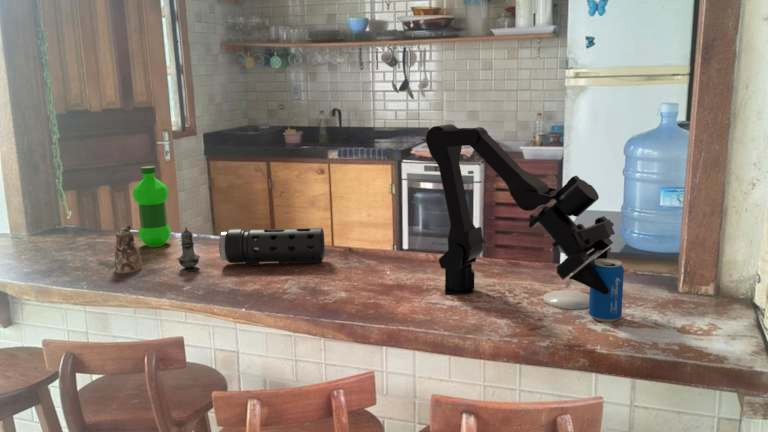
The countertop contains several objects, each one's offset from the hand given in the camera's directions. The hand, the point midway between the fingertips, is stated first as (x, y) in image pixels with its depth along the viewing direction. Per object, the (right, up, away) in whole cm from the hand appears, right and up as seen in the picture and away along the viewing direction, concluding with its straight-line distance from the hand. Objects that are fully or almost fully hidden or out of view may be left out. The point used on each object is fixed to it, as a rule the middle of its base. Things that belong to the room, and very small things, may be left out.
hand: (613, 288), depth 136 cm
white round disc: (-5, -4, +13) cm, 15 cm away
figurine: (-118, 0, +49) cm, 128 cm away
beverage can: (-1, -6, +2) cm, 7 cm away
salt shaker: (-100, 0, +46) cm, 110 cm away
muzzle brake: (-78, +1, +50) cm, 93 cm away
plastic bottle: (-120, +6, +75) cm, 142 cm away
